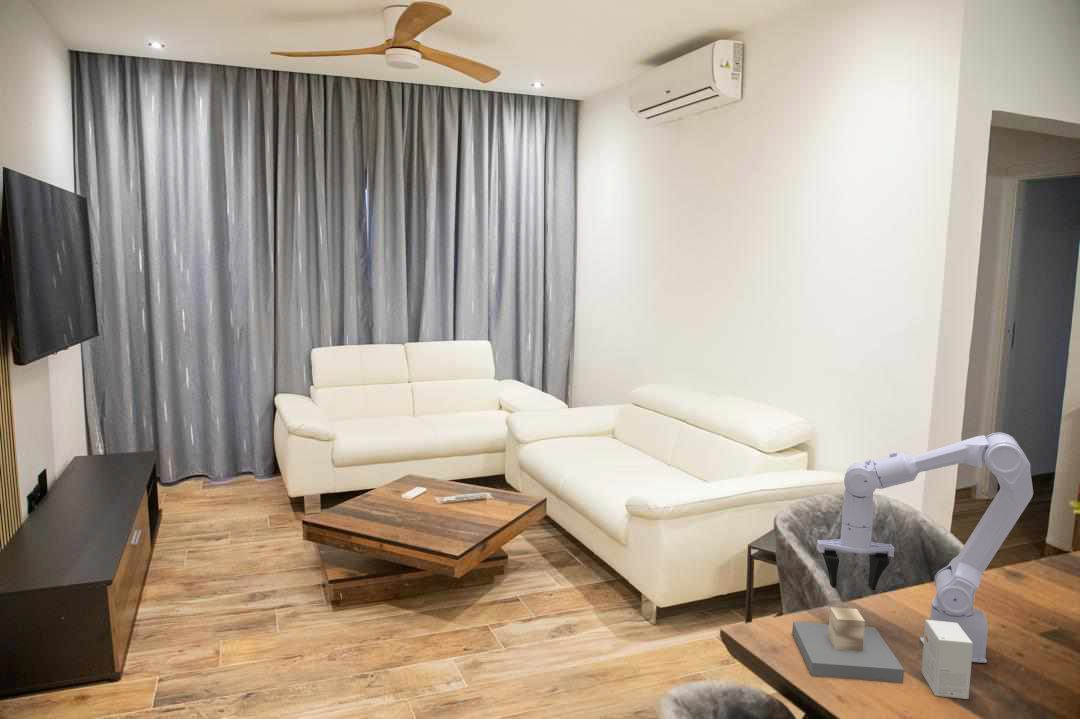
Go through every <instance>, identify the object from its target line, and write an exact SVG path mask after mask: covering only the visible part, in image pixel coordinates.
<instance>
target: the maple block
mask: <svg viewBox="0 0 1080 719" xmlns="http://www.w3.org/2000/svg"><path fill="white" fill-rule="evenodd" d="M828 618H829V619H828V624H829V629H828V637H829V639H830V641H831V643H832V644H833V646H834V648H835V649H838V650H853V651H863V640H864V627H866V626H865V624H866V621H865V619H864V618H863V616H862V615H861V613H860V611H859V610H858V608H849V607H848V608H847V607H833V606H832V607H831V606H830V607H829V617H828Z"/></svg>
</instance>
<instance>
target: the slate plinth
mask: <svg viewBox="0 0 1080 719" xmlns="http://www.w3.org/2000/svg"><path fill="white" fill-rule="evenodd" d="M828 629H829V623H819V622H818V623H816V622H803V621H792V632H791V633H793V634H792V636H793V635H794V636H793V638H794V640H795V642H796V645H797V647H798V649H799V651H800V654H801V655H802V657H803V660H804V662H805V664H806V667H807V669H808V671H809V673H810V675H811V676H813V677H821V678H822V677H824V678H825V677H826V678H836V679H851V680H863V681H874V682H875V681H879V682H889V683H891V682H892V683H902V684H903V683H904V676H905V669H904V667H903V666H902V665H901V662H900V661H899V660H898V658H897V657H896V656H895V654H894V653H893V652H892V650H891V648H890V647H889V646H888V644H887V643H886V641H885V640H884V638H883V637H882V636H881V634H880V633H879V631H878V630H877V628H876V627H874V626H865V627H864V640H863V651H853V650H838V649H835V648H834V646H833V644H832V643H831V641H830V639H829V637H828Z"/></svg>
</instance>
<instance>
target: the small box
mask: <svg viewBox="0 0 1080 719" xmlns="http://www.w3.org/2000/svg"><path fill="white" fill-rule="evenodd" d="M923 637H924V644H922V645H923V647H922V658H921V659H922V660H921V672H920V673H921V674H922V676H923V678H924V679H925V681H926V683H927V684H928V686H929V688H930V689H931V691H932V693H933V695H934V696H935V697H945V698H953V699H964V700H969V696H970V685H971V674H972V663H973V662H972V651H973V642H972V641H971V640H970V639H969V637H968V636H967V635H966V633H965V632H964V631H963V630H962V628H961V627H960V626H959V624H958V623H954V622H945V621H935V620H930V619H925V621H924V634H923Z"/></svg>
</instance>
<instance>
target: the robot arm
mask: <svg viewBox="0 0 1080 719" xmlns="http://www.w3.org/2000/svg"><path fill="white" fill-rule="evenodd" d="M983 463H985V465H986V467H987V469H988V470H989V471H990V472H991V473H992V474H993V475H994V476H995V478H996V480H997V483H998V484H999V490H998V492H996V494H995V496H994V498H993V500H992V501H991V503H990V504H989V506H987V509H986V511H985V512H984V513H983V516H982V517H981V518H980V520H979V522H978V523H977V525H976V526H975V528H974V529H973V531H972V533H971V534H970V536H969V537H968V539H967V540H966V542H965V543H964V545H963V546H962V548H961V550H960V551H959V554H957V555H956V556H954V558H952V559H951V561H950V562H949V564H948V565H946V566H944V567H943V568H941V569H939V570H938V571H937V572H936V574H935V576H934V586H935V590H936V594H935V597H934V598H932V600H931V604H930V615H929V616H930V617H929V620H935V621H945V622H954V623H958V624H959V626H960V627H961V628H962V630H963V631H964V632H965V633H966V635H967V636H968V637H969V639H970V640H971V641H972V642H973V651H972V663H978V664H979V663H980V664H982V663H983V664H986V663H987V662H988V660H987V659H986V652H987V643H988V634H989V628H988V626H989V624H988V620H987V617H986V615H985V613H984V612H983V610H981V609H980V608H979V609H978V608H974V605H975V595H976V593H977V591H978V590H979V587H980V585H981V581H982V577H983V575H984V572H985V571H986V570H987V567H988V566H989V565H990V562H991V561H992V560H993V558H994V557H995V556H996V554H997V552H999V551H998V550H999V549H1000V547H1001V546H1002V545H1003V543H1004V541H1005V540H1006V539H1007V537H1008V536H1009V533H1010V532H1011V531H1012V529H1013V528H1014V526H1015V525H1016V523H1017V522H1018V520H1019V518H1020V516H1021V515H1022V514H1023V512H1024V511H1025V509H1026V508H1027V506H1028V505H1029V503H1030V502H1031V500H1032V498H1033V495H1034V489H1033V487H1034V486H1033V481H1032V473H1031V462H1030V461H1029V459H1028V457H1027V456H1026V454H1025V452H1024V451H1023V449H1022V447H1020V445H1019V443H1018V442H1017V440H1016V439H1015V438H1014V436H1012V435H1010V434H1007V433H1005V432H993V433H990V434H988V435H987V436H985V435H984V434H983V435H978V436H973V437H970V438H967V439H963V440H961V441H958V442H955V443H951V444H948V445H944V446H942V447H939V448H935V449H932V450H929V451H926V452H922V453H919V454H917V455H911V454H908V453H906V452H903V451H902V452H899V453H898V452H897V450H893V451H890V452H889V455H887V456H885V457H881V458H877V459H874V460H871V458H868V459H865V460H864V462H855V463H853V464H851V465H849V467H847V469H846V470H845V471H846V472H845V474H844V480H843V482H844V483H843V484H844V487H845V489H844V491H843V495H844V497H843V501H842V513H841V515H842V516H841V529H840V538H835V539H834V538H833V539H817V541H816V550H817V551H818V553H820V554H821V555H822V557H823V559H824V562H825V565H826V569H827V572H828V579H829V585H830V586H831V588H832V589H836V588H837V582H838V581H837V578H838V568H839V564H840V559H839V557H838V554H837V553H845V554H860V555H861V554H862V555H863V554H864V555H869V573H868V582H867V583H868V587H869V589H870V590H871V591H876V588H877V585H878V582H879V581H880V577H881V576H882V574H883V572H884V571H885V570H886V568H888V567H889V564H890V558H889V557H892V558H894V557H895V555H894V554H895V547H894V546H893V545H892V544H891V543H882V542H877V541H872V538H873V537H872V536H873V535H872V534H873V523H874V521H873V520H874V508H875V506H874V505H875V503H874V502H875V501H874V493H875V491H876V489H880V490H883V489H887V488H890V487H894V486H898V485H903V484H905V483H910V482H914V481H915V480H916V478H917V477H918V474H919V473H922V472H927V471H931V470H932V471H933V470H936V469H941V468H945V467H951V466H955V465H959V464H965V465H966V464H967V465H969V466H972V467H975V468H978V469H983ZM919 641H920V642H921V643H922V645H924V636H923V637H922V636H920V638H919Z"/></svg>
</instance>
